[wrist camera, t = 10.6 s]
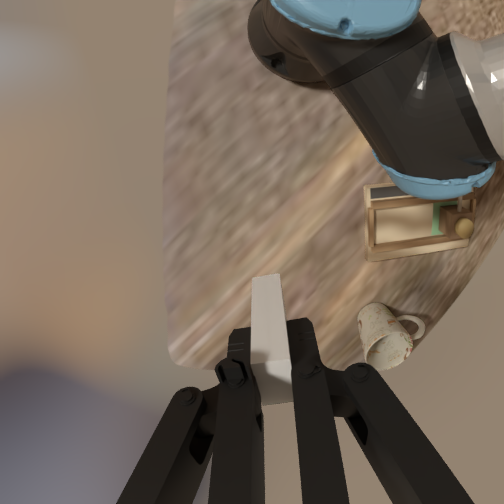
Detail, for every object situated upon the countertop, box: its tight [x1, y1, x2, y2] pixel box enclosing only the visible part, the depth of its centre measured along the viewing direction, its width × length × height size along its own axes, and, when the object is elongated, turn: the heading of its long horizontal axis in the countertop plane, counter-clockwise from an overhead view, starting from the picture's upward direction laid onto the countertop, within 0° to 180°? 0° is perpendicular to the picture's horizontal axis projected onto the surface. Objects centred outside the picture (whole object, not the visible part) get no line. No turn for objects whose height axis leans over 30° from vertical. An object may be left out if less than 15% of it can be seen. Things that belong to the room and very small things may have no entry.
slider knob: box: [438, 196, 474, 239], centre depth 41 cm, size 7×4×6 cm, turn 9°
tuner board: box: [364, 183, 476, 262], centre depth 45 cm, size 12×20×2 cm, turn 99°
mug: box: [357, 303, 425, 370], centre depth 50 cm, size 8×12×10 cm, turn 103°
